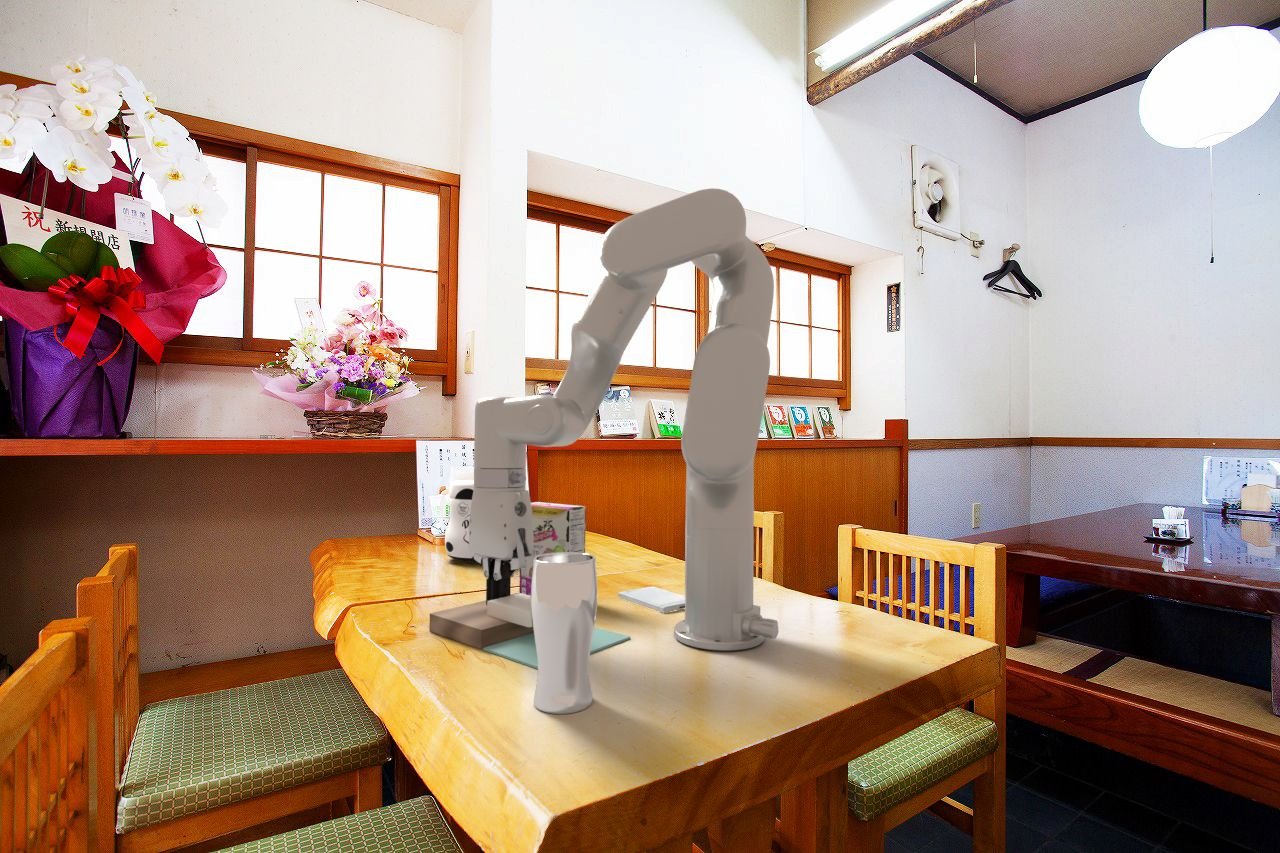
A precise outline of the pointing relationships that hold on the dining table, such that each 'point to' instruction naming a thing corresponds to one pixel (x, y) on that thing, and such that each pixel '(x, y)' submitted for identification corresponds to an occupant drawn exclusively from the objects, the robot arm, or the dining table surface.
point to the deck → (475, 626)
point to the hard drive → (655, 598)
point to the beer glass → (563, 629)
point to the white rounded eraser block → (512, 609)
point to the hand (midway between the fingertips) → (498, 604)
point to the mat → (526, 651)
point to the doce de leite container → (459, 521)
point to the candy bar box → (553, 534)
